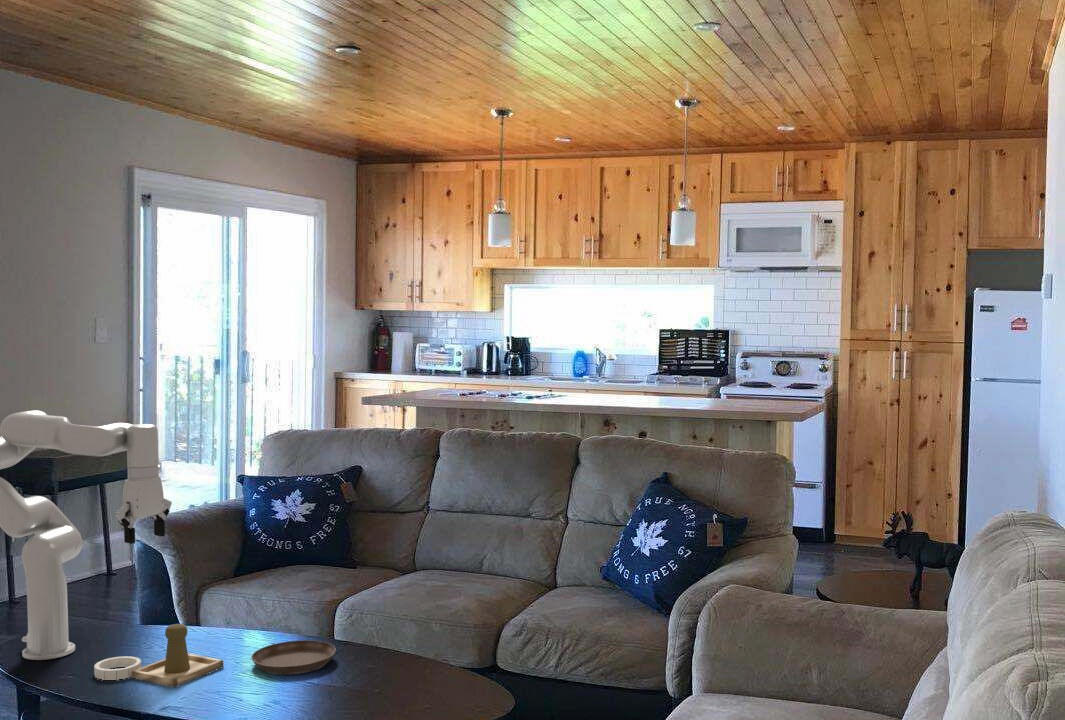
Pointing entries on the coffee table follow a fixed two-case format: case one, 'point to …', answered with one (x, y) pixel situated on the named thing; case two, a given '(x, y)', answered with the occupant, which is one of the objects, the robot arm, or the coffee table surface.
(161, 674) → the tray
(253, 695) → the coffee table surface
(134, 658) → the holder ring
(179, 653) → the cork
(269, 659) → the plant saucer
